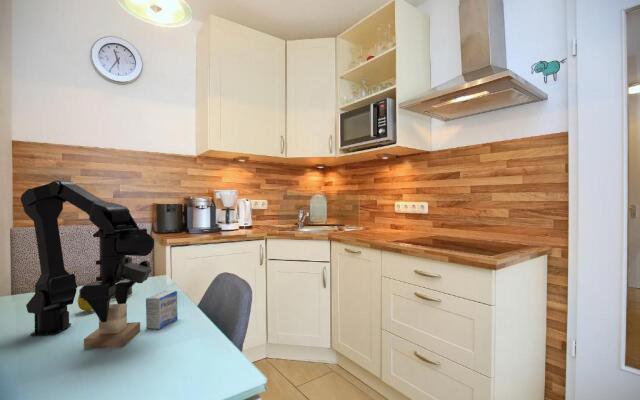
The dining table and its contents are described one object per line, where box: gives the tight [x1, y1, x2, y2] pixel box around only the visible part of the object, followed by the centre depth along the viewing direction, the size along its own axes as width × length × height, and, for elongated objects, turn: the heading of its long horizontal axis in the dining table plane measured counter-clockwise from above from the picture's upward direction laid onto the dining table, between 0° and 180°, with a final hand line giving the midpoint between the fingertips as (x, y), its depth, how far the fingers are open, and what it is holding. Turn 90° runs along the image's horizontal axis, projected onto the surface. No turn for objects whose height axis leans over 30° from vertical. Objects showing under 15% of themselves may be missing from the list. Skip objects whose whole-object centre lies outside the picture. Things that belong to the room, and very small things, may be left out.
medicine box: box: [145, 289, 178, 330], centre depth 91 cm, size 8×4×9 cm, turn 168°
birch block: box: [98, 303, 128, 334], centre depth 80 cm, size 4×4×6 cm
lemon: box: [77, 295, 93, 313], centre depth 100 cm, size 6×6×8 cm
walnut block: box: [83, 321, 141, 350], centre depth 80 cm, size 9×9×3 cm
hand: (113, 315), depth 80 cm, fingers open, 9 cm apart
